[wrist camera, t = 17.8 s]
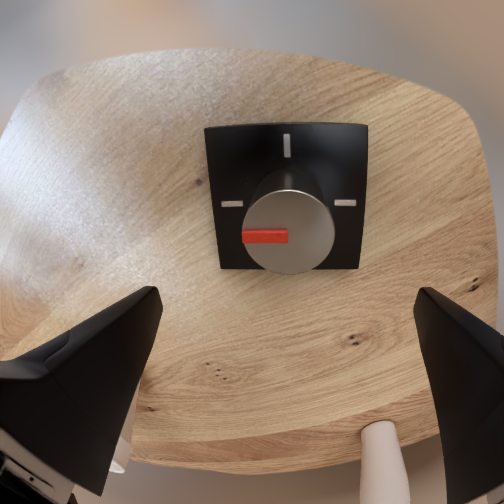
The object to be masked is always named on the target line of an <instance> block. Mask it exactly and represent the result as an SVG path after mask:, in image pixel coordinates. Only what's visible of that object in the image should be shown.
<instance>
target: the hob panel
mask: <svg viewBox="0 0 504 504" xmlns="http://www.w3.org/2000/svg"><path fill="white" fill-rule="evenodd" d="M204 134H205V144H206V153H207V163H208V172H209V181H210V190H211V198H212V207H213V215H214V223H215V230H216V238H217V246H218V253H219V260H220V267H221V269H265V268H263V267H262V266H260V265H259V264H258V263H257V262H255V261H254V260H253V258H252V257H251V256H250V255H249V253H248V251H247V250H246V247H245V245H244V244H243V242H242V227H243V222H244V218H245V216H246V213H247V211H248V208H249V206H250V203H251V201H252V199H253V196H254V194H255V191H256V189H257V187H258V185H259V183H260V182H261V181H262V180H263V178H265V177H266V176H267V175H268V174H270V173H272V172H274V171H276V170H279V169H286V168H292V169H298V170H301V171H303V172H305V173H307V174H309V175H310V176H311V177H313V178H314V179H315V180H316V182H317V183H318V184H319V186H320V188H321V190H322V192H323V195H324V198H325V200H326V203H327V205H328V208H329V211H330V213H331V216H332V219H333V222H334V227H335V238H334V243H333V246H332V248H331V251H330V252H329V254H328V255H327V257H326V258H325V259H324V260H323V261H322V262H321V263H320V264H319V265H317V266H316V267H315V268H313V269H311V270H315V269H358V268H359V261H360V253H361V245H362V236H363V226H364V215H365V202H366V186H367V165H368V125H364V124H355V123H335V122H272V123H252V124H237V125H225V126H215V127H208V128H205V129H204Z"/></svg>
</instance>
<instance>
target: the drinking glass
mask: <svg viewBox="0 0 504 504" xmlns="http://www.w3.org/2000/svg"><path fill="white" fill-rule="evenodd" d="M361 443H362V454H361V481H360V504H410V490H409V482H408V477H407V473H406V469H405V465H404V461H403V457H402V453H401V449H400V445H399V441H398V437H397V433H396V428H395V424H394V423H393V422H391V421H378V422H375V423H372V424H370V425H368V426H366V427H365V428H364V429H363V430H362V431H361Z"/></svg>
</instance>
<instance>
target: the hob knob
mask: <svg viewBox="0 0 504 504" xmlns="http://www.w3.org/2000/svg"><path fill="white" fill-rule="evenodd" d="M334 238H335V227H334V222H333V219H332V216H331V213H330V211H329V208H328V205H327V203H326V200H325V198H324V195H323V192H322V190H321V188H320V186H319V184H318V183H317V182H316V180H315V179H314V178H313V177H311V176H310V175H309V174H307V173H305V172H303V171H301V170H298V169H292V168H286V169H279V170H276V171H274V172H272V173H270V174H268V175H267V176H266V177H265V178H263V180H262V181H261V182H260V183H259V185H258V187H257V189H256V191H255V194H254V196H253V199H252V201H251V203H250V206H249V208H248V211H247V213H246V216H245V218H244V222H243V227H242V242H243V244H244V245H245V247H246V250H247V251H248V253H249V255H250V256H251V257H252V258H253V260H254V261H255V262H257V263H258V264H259V265H260V266H262V267H263V268H265V269H267V270H269V271H272V272H275V273H278V274H286V275H292V274H300V273H303V272H306V271H309V270H311V269H313V268H315V267H316V266H317V265H319V264H320V263H321V262H322V261H323V260H324V259H325V258H326V257H327V255H328V254H329V252H330V251H331V248H332V246H333V243H334Z"/></svg>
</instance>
